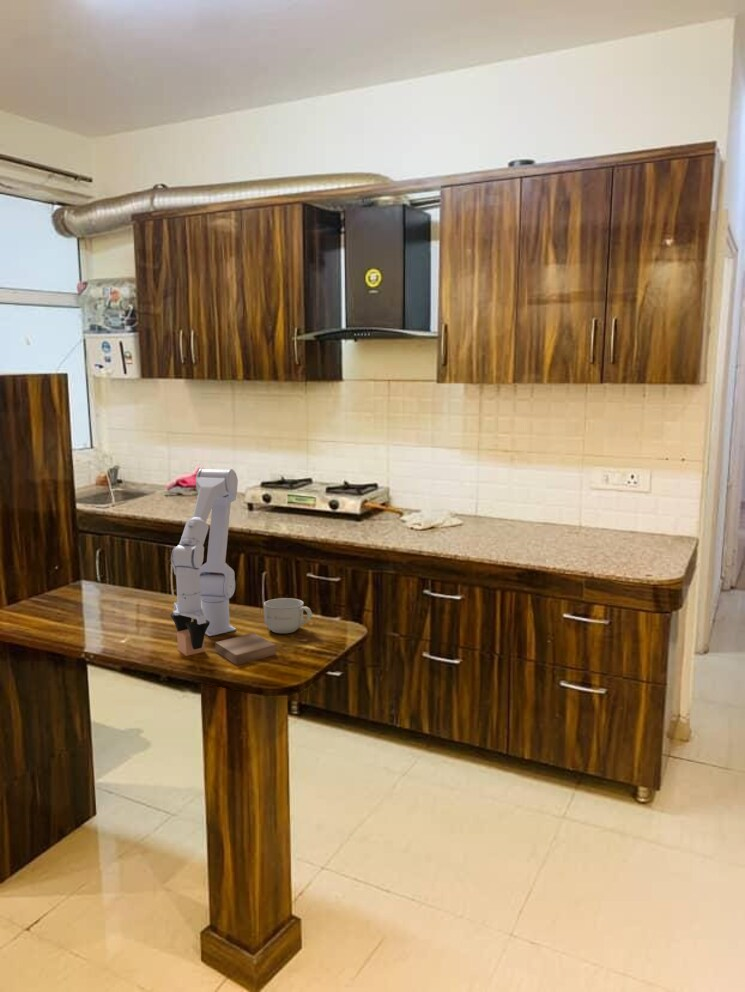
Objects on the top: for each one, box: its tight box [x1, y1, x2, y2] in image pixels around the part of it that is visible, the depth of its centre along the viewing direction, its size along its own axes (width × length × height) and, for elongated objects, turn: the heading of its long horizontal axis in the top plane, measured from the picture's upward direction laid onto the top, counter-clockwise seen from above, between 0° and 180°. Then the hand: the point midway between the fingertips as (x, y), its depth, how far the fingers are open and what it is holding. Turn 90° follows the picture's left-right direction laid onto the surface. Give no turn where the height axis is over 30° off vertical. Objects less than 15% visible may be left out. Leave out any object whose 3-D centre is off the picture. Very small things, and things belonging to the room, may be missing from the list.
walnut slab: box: [214, 632, 277, 666], centre depth 190 cm, size 11×11×3 cm
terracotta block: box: [176, 629, 206, 657], centre depth 191 cm, size 5×5×5 cm
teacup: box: [263, 597, 313, 634], centre depth 205 cm, size 14×11×8 cm
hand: (190, 643), depth 191 cm, fingers open, 7 cm apart
